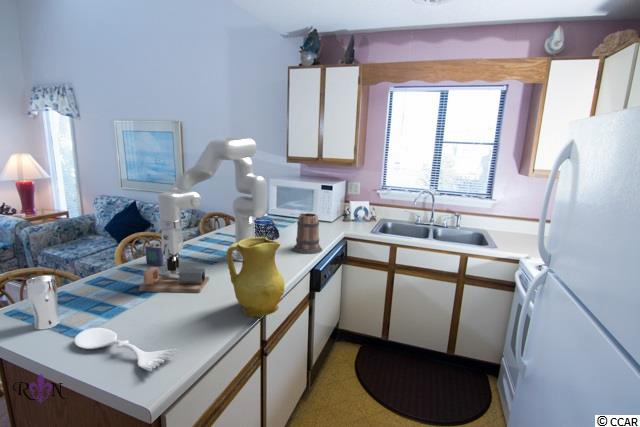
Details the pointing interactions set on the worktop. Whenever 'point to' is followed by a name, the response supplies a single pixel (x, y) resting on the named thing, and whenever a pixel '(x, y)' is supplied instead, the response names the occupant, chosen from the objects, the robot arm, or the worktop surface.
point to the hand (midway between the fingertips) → (173, 268)
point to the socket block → (151, 275)
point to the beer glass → (43, 301)
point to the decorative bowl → (266, 228)
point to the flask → (154, 255)
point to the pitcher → (256, 276)
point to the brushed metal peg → (171, 275)
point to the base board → (171, 286)
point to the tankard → (307, 234)
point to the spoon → (107, 337)
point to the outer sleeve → (192, 276)
